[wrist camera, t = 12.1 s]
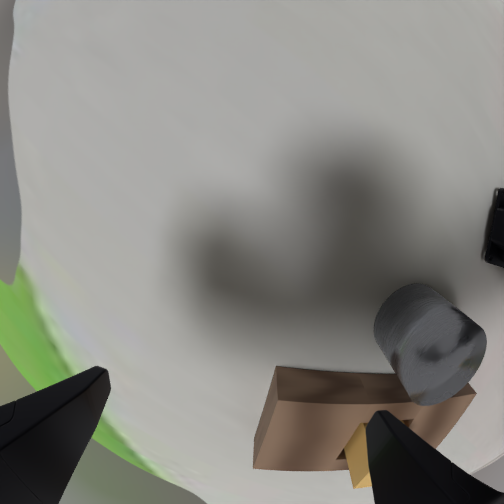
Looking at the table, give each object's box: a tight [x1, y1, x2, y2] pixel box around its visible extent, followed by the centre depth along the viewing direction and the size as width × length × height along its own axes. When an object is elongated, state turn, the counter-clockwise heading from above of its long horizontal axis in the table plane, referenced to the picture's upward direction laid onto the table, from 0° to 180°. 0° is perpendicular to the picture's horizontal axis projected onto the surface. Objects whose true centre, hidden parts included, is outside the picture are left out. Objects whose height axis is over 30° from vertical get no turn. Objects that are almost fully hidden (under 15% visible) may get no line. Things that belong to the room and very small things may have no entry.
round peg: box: [374, 283, 487, 406], centre depth 16 cm, size 6×6×7 cm
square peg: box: [344, 420, 405, 489], centre depth 19 cm, size 4×4×8 cm
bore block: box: [253, 366, 477, 471], centre depth 21 cm, size 20×10×4 cm, turn 80°
